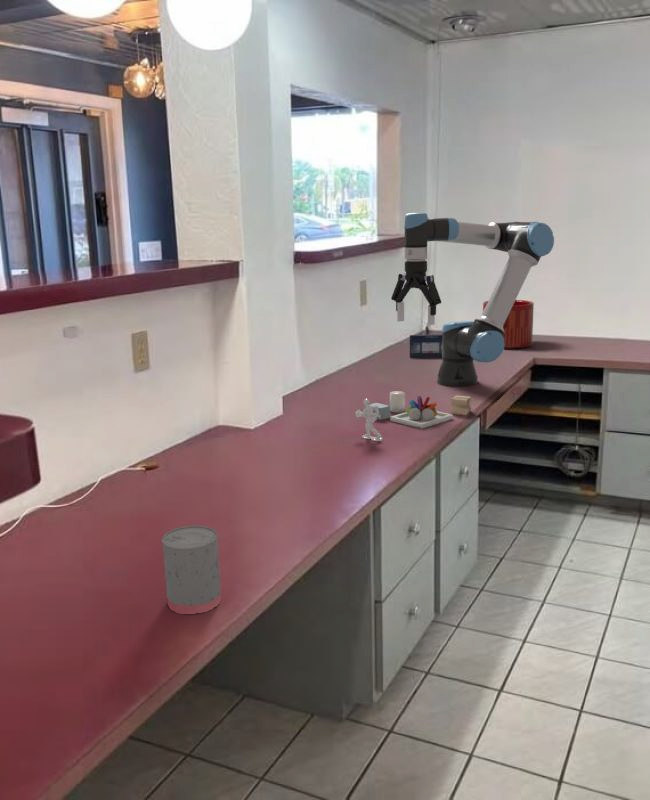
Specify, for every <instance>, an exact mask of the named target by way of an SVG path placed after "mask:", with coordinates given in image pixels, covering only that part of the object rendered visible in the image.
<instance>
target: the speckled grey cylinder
mask: <svg viewBox="0 0 650 800" xmlns="http://www.w3.org/2000/svg"><path fill="white" fill-rule="evenodd" d="M218 534H219V533H218V532H217V531H216V529H214V528H211V527H209V526H204V525H203V526H202V525H188V526H186V525H185V526H182V527H178V528H174V529H172V530H169V531H168V532H166V533H165V534H164V535H163V536H162V538H161V543H162V550H163V552H162V553H163V562H164V563H163V564H164V575H165V585H166V586H165V588H166V599H167V598H168V600H169V601H170V602H172V603H174V604H179V605H187V606H192V605H202V604H205V603H208V602H210V601H213V600H214V599H216V598H217V597H218V596H219V595H220V593H221V594H222V591H221V590H222V588H221V575H220V574H221V573H220V559H219V557H220V556H219V545H218V537H219V535H218Z"/></svg>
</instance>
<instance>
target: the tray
mask: <svg viewBox="0 0 650 800" xmlns="http://www.w3.org/2000/svg"><path fill="white" fill-rule="evenodd" d="M436 411H437V416H434V418H433V419H432V420H430V421H426V420H424V419H423V418H422V416H421V417H420V419H418V420H411V419H410V418H409V415H408V413H407V411H404V412H400V413H398V414H395V415H390V422H393V423H396V424H397V423H398V424H400V425H401V424H402V425H405V426H409V427H412V428H417V429H421V430H422V429H426V428H429V427H431V426H434V425H438V424H442V423H445V422H447V421H451V420H453V419H454V414H451V413H446V412H443V411H439V410H436Z"/></svg>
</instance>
